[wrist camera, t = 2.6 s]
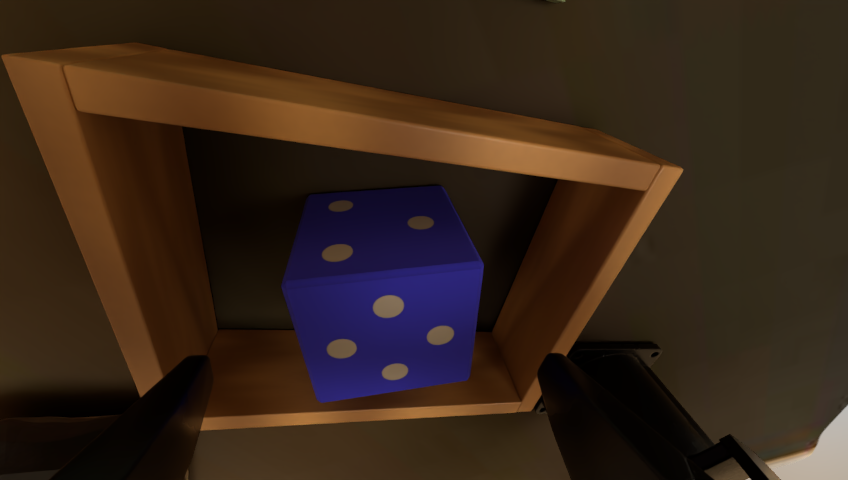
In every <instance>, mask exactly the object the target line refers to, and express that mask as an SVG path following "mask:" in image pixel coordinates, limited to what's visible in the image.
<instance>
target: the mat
mask: <svg viewBox="0 0 848 480" xmlns="http://www.w3.org/2000/svg"><path fill="white" fill-rule="evenodd" d="M546 1H549V2H553V3H560V2H565V0H546Z"/></svg>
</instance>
